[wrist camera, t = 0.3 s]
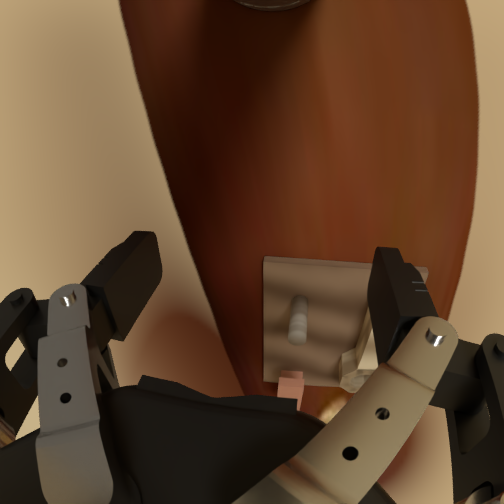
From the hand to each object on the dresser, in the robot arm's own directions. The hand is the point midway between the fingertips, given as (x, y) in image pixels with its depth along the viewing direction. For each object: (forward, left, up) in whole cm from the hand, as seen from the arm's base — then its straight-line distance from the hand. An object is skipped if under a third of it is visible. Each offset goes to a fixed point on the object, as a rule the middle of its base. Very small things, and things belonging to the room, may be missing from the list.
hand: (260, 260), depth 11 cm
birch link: (+23, +11, -17) cm, 30 cm away
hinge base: (+23, +7, -18) cm, 30 cm away
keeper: (+29, +2, -18) cm, 34 cm away
